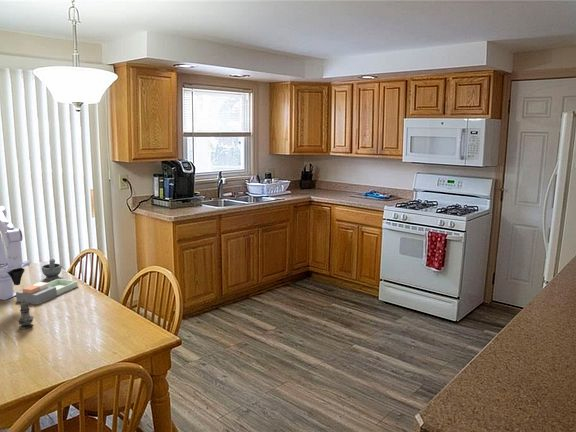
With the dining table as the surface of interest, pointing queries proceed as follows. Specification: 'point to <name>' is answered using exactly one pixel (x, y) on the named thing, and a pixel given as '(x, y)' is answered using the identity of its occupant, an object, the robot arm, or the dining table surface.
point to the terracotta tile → (31, 289)
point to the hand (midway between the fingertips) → (17, 284)
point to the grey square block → (37, 295)
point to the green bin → (62, 285)
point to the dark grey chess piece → (25, 316)
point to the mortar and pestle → (51, 270)
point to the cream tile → (41, 285)
